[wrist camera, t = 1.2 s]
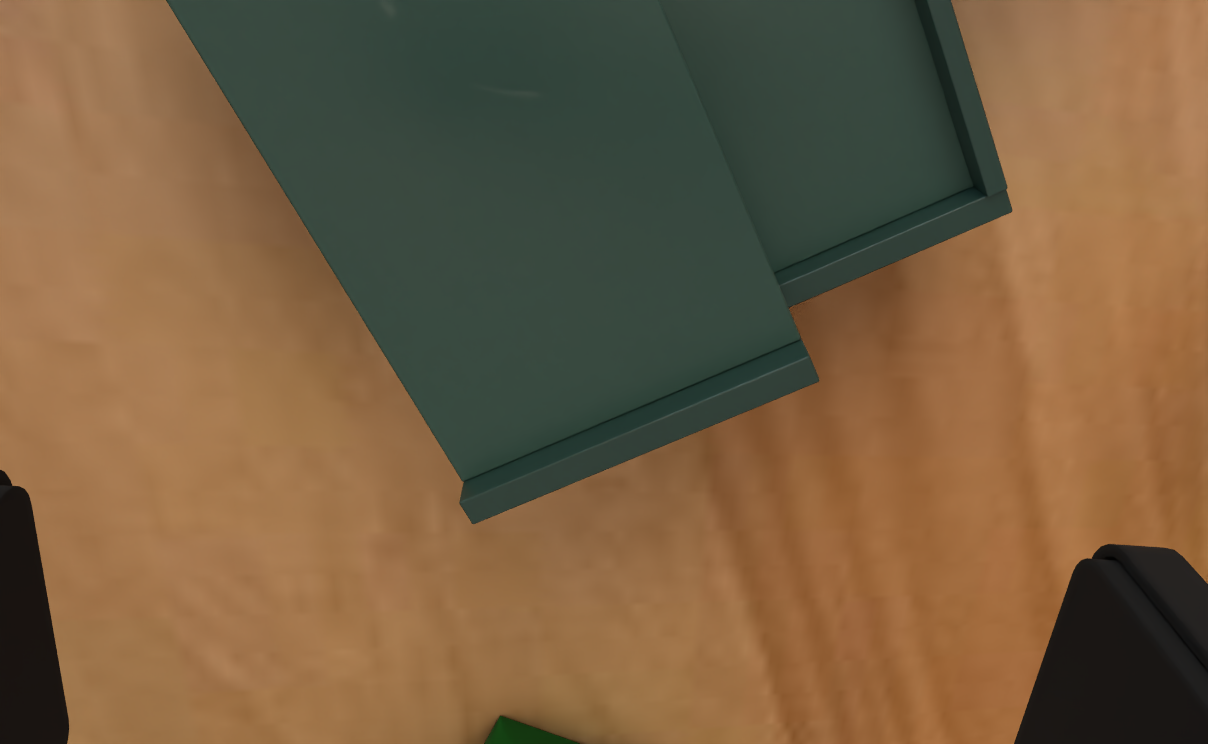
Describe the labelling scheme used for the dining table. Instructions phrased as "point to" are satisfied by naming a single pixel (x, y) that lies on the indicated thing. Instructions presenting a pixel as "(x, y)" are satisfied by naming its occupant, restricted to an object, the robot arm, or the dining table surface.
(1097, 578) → the robot arm
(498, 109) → the step rack
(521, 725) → the milk carton
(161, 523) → the dining table surface
